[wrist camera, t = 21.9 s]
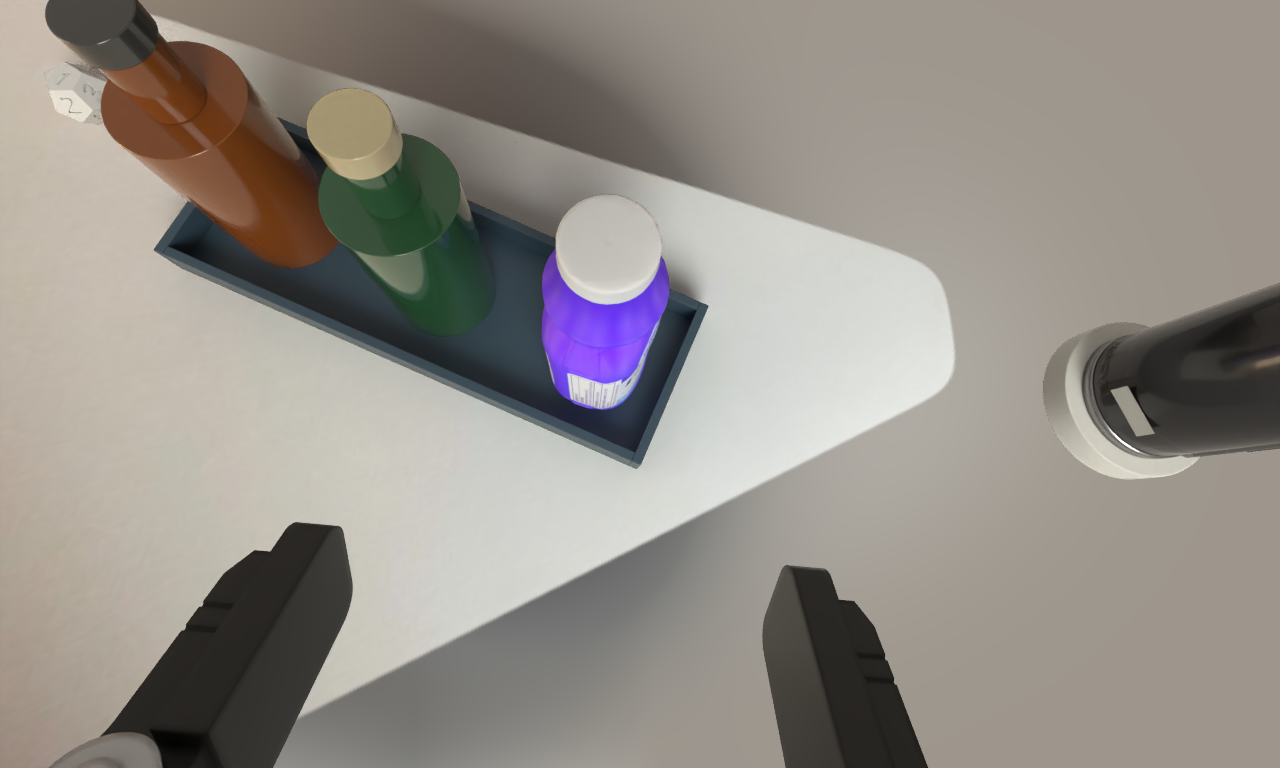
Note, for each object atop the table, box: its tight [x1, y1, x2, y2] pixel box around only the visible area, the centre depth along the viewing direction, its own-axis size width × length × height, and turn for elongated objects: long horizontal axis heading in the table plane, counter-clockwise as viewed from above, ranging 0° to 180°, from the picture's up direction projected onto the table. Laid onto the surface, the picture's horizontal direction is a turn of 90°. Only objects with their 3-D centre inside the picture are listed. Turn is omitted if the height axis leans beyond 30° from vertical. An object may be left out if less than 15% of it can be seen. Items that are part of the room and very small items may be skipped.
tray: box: [154, 117, 708, 469], centre depth 39 cm, size 32×11×3 cm, turn 67°
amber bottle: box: [45, 0, 339, 268], centre depth 32 cm, size 6×6×17 cm
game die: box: [45, 62, 107, 124], centre depth 40 cm, size 4×4×3 cm
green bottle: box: [307, 88, 496, 337], centre depth 31 cm, size 6×6×17 cm
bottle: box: [542, 194, 669, 410], centre depth 31 cm, size 7×6×17 cm
